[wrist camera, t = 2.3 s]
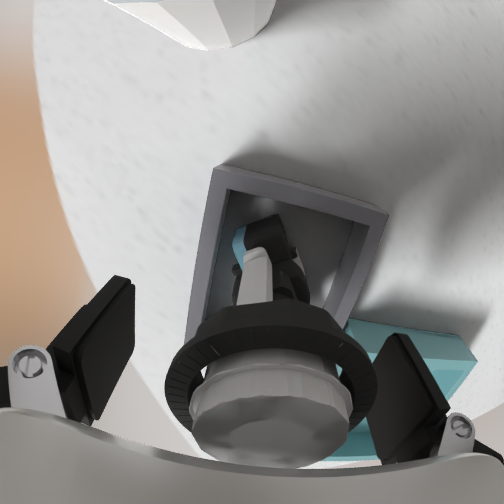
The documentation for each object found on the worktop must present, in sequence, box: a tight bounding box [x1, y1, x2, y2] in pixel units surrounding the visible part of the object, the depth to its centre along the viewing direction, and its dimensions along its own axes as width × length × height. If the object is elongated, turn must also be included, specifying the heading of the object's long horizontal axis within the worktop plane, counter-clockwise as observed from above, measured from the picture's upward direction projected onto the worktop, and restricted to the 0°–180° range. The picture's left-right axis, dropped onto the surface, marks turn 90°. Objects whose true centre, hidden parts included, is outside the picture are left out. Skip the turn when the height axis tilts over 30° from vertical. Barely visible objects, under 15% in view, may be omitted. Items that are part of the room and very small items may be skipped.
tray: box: [321, 318, 478, 461], centre depth 17 cm, size 10×12×3 cm
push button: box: [165, 214, 378, 469], centre depth 10 cm, size 7×5×10 cm
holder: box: [184, 164, 389, 345], centre depth 14 cm, size 8×10×2 cm
